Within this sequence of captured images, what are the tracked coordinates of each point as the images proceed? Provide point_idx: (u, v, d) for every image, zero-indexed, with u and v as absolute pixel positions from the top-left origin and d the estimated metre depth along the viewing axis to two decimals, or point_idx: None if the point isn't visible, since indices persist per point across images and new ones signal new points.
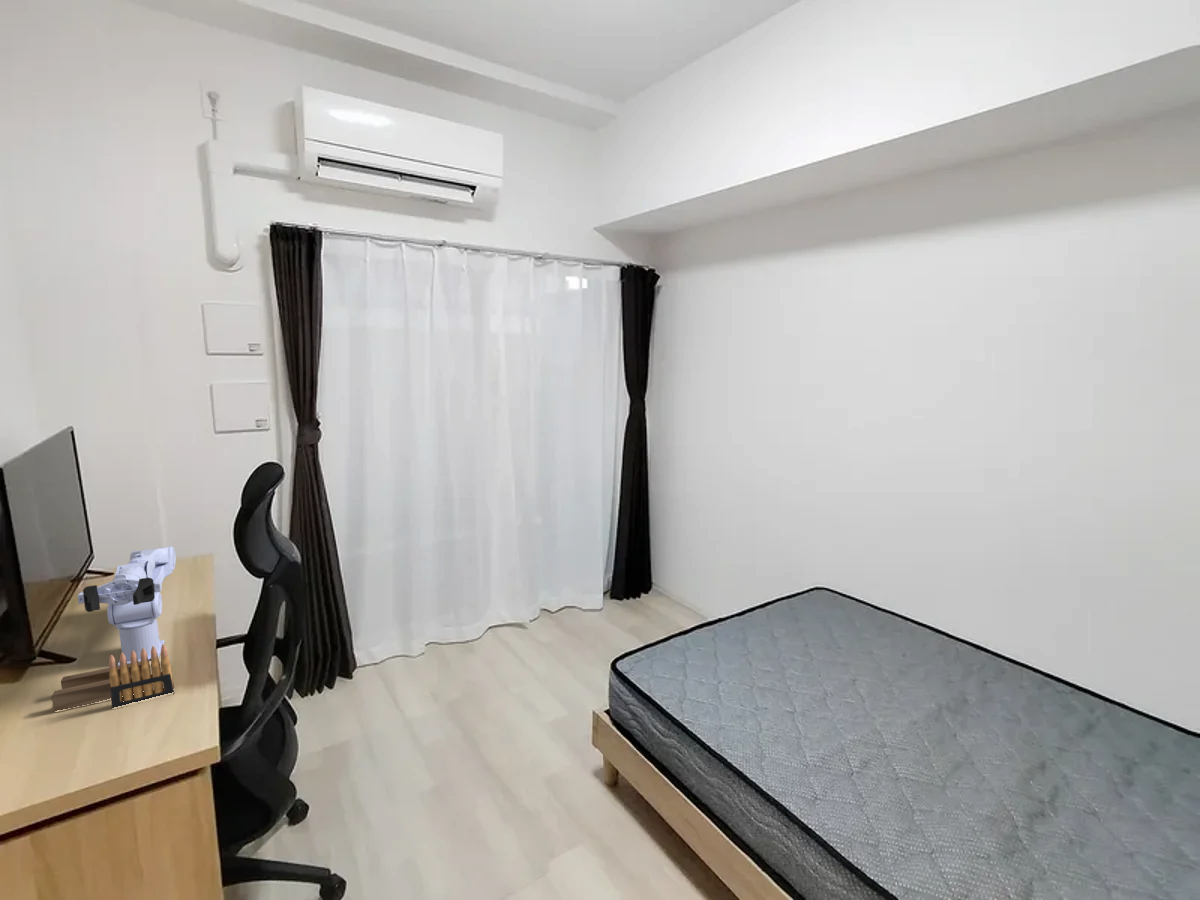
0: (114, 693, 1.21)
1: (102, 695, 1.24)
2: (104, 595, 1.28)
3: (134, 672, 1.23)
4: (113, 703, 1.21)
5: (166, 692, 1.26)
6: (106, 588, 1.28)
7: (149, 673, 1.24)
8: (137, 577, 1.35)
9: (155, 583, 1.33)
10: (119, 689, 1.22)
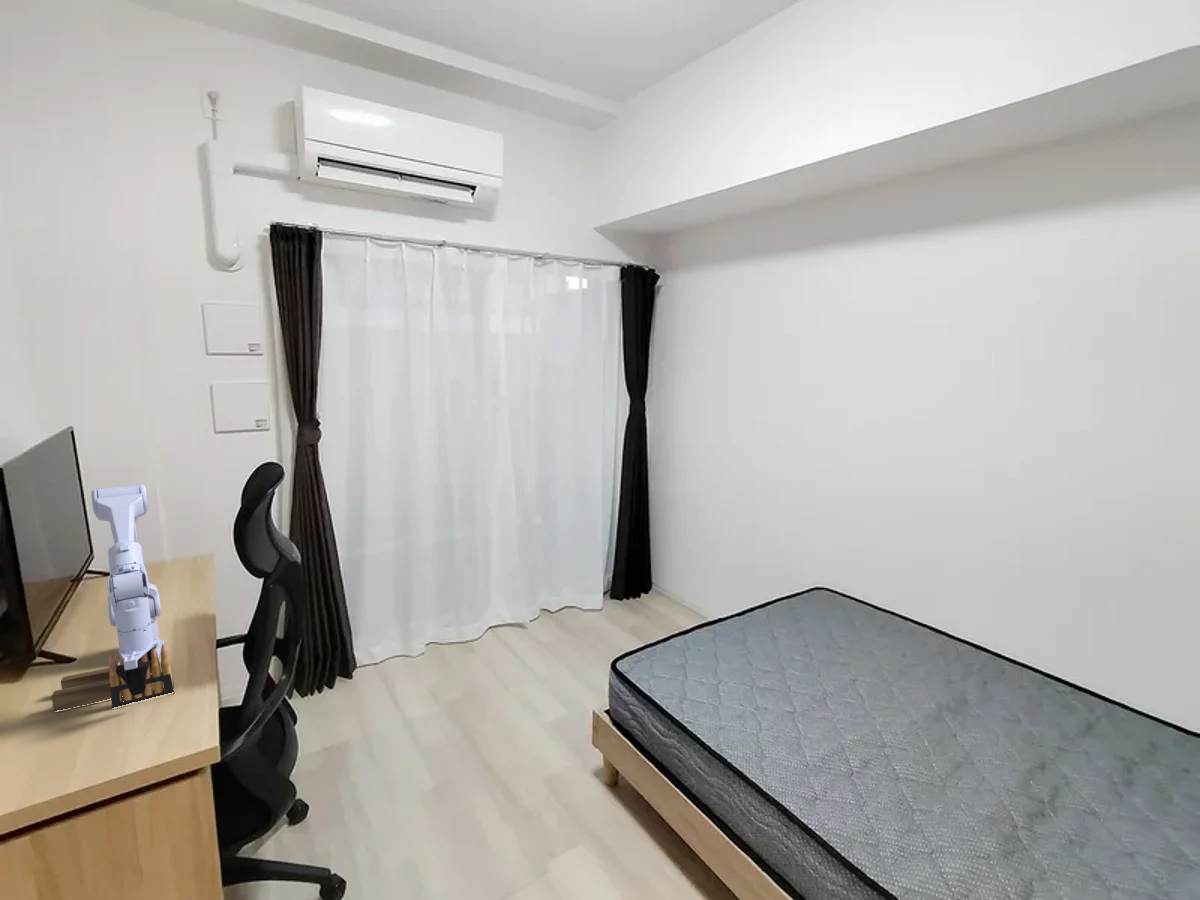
0: (114, 693, 1.21)
1: (102, 695, 1.24)
2: None
3: None
4: (113, 703, 1.21)
5: (166, 692, 1.26)
6: None
7: (149, 673, 1.24)
8: None
9: None
10: (119, 689, 1.22)
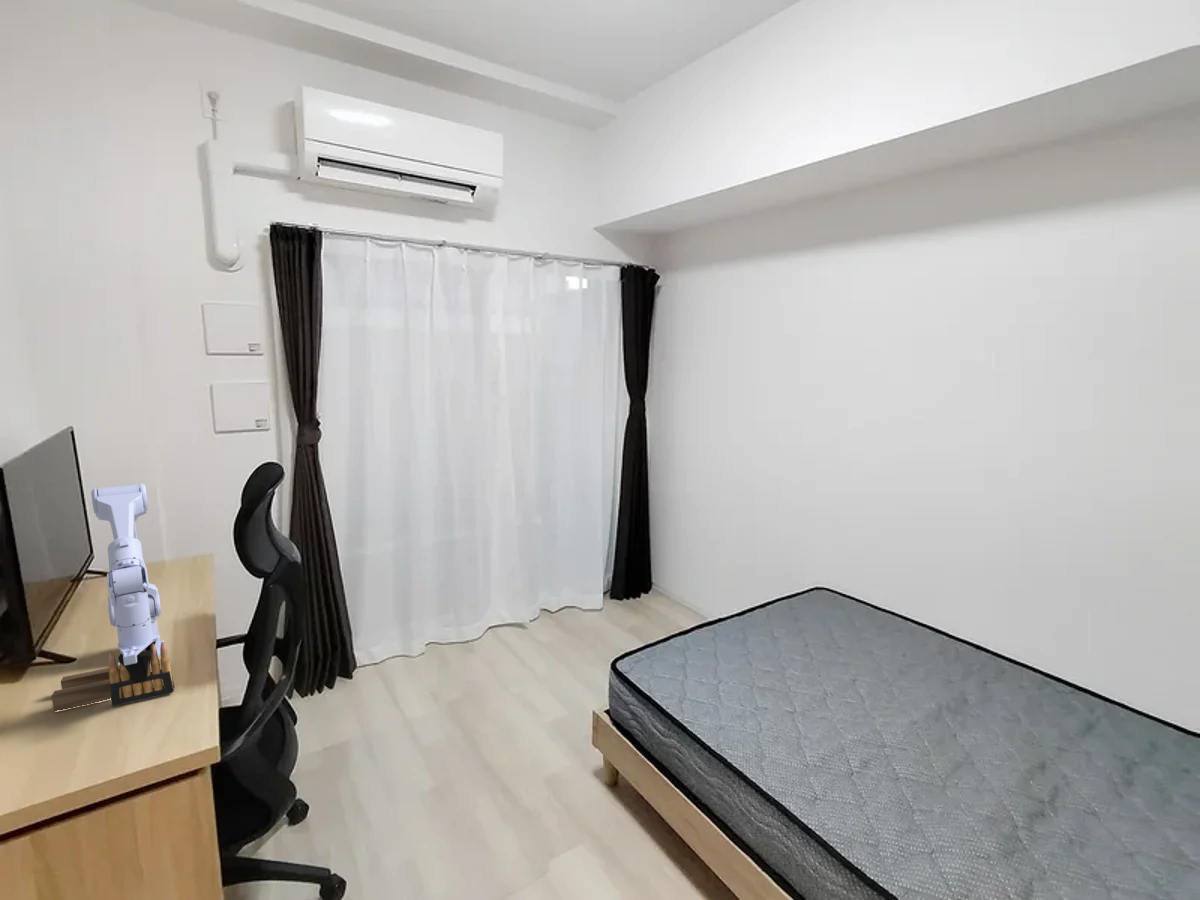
0: (114, 690, 1.21)
1: (102, 695, 1.24)
2: None
3: None
4: (113, 700, 1.22)
5: (165, 690, 1.26)
6: None
7: (149, 670, 1.24)
8: None
9: None
10: (119, 686, 1.22)
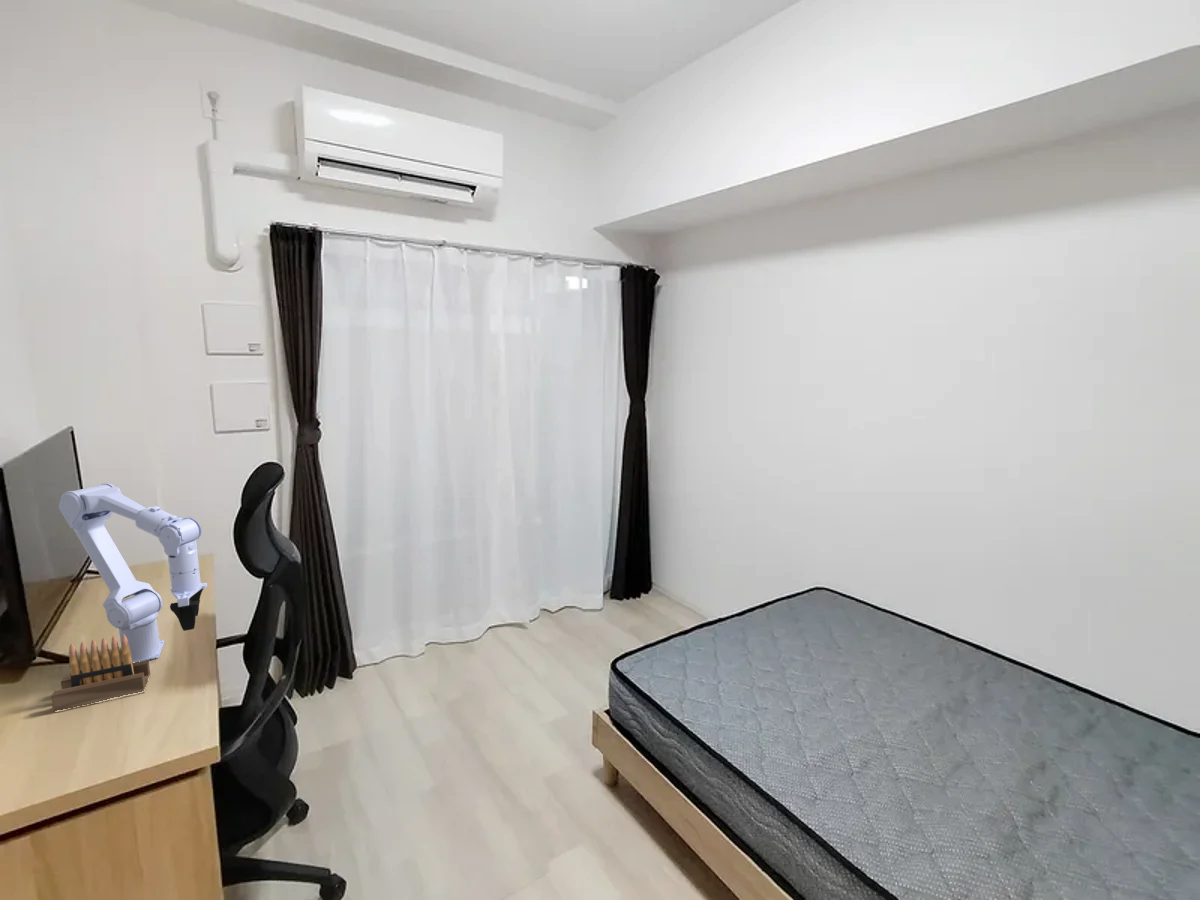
0: (74, 682, 1.23)
1: (102, 695, 1.24)
2: None
3: (94, 661, 1.25)
4: None
5: None
6: None
7: (109, 663, 1.26)
8: None
9: None
10: (79, 678, 1.24)
